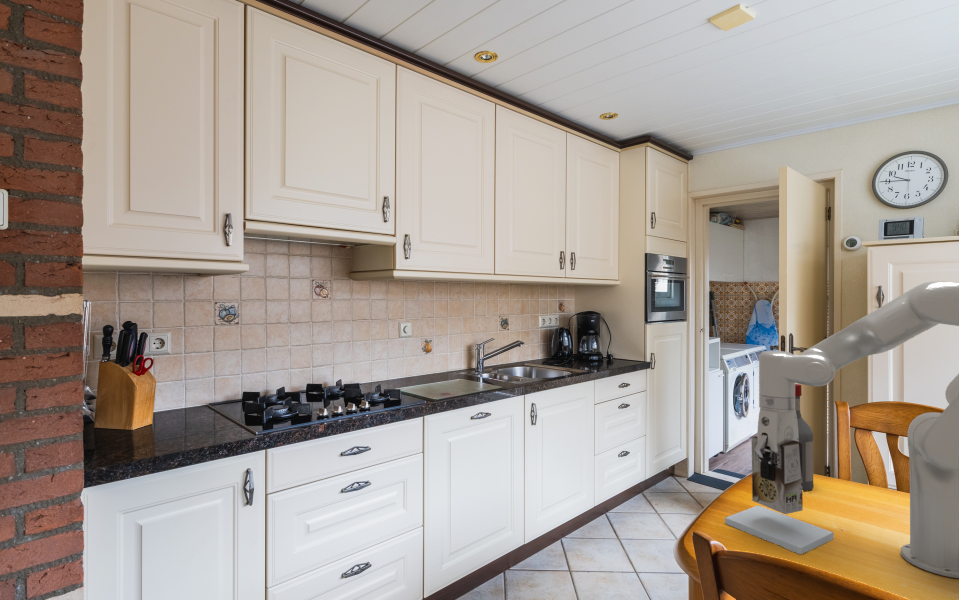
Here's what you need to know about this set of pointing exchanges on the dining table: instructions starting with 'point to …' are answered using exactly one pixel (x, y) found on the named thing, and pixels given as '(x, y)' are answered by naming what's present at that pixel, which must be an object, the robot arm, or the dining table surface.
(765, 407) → the robot arm
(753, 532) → the chopping board
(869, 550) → the dining table surface
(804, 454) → the liquor
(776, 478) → the coffee box
